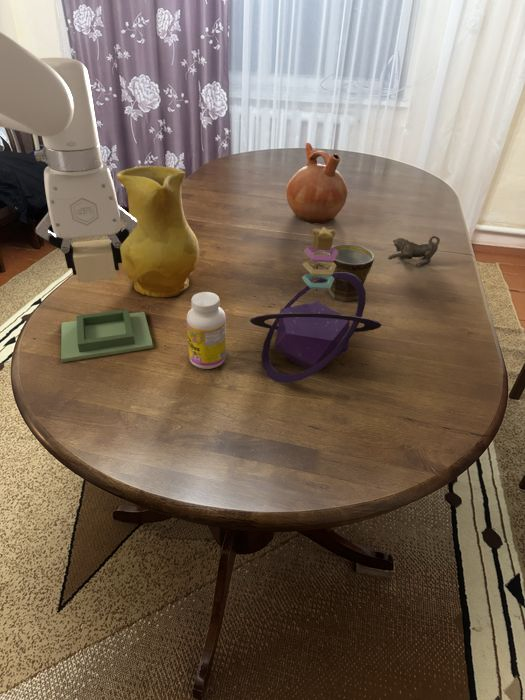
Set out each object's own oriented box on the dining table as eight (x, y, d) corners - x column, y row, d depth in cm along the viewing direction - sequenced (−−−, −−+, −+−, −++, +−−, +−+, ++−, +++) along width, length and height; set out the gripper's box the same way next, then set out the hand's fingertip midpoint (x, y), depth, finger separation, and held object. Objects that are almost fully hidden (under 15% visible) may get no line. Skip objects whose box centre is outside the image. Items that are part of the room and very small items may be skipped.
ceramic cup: (354, 281, 111) (361, 242, 105) (374, 302, 104) (383, 261, 98) (303, 287, 108) (308, 247, 102) (321, 310, 100) (326, 268, 94)
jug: (273, 210, 147) (277, 142, 135) (321, 203, 154) (328, 138, 142) (304, 231, 134) (312, 159, 122) (354, 222, 142) (366, 153, 129)
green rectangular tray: (62, 362, 83) (58, 350, 81) (62, 326, 92) (59, 314, 90) (153, 348, 87) (151, 336, 86) (144, 314, 96) (143, 303, 95)
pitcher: (112, 300, 99) (98, 179, 85) (135, 265, 115) (126, 157, 101) (193, 306, 100) (191, 187, 86) (204, 270, 115) (205, 164, 101)
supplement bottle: (184, 352, 86) (180, 292, 79) (218, 345, 89) (216, 285, 81) (196, 374, 82) (192, 312, 74) (231, 365, 84) (231, 304, 76)
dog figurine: (431, 259, 123) (438, 232, 119) (434, 269, 119) (442, 241, 114) (385, 254, 124) (391, 227, 120) (386, 264, 120) (393, 236, 115)
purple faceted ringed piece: (359, 328, 95) (382, 209, 80) (379, 399, 78) (415, 264, 63) (249, 325, 95) (252, 204, 80) (247, 395, 78) (250, 258, 63)
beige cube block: (78, 282, 76) (73, 257, 73) (78, 266, 81) (72, 242, 78) (116, 278, 78) (112, 253, 75) (113, 262, 82) (109, 238, 80)
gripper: (7, 168, 63) (40, 285, 74) (138, 162, 68) (150, 273, 78) (12, 153, 68) (42, 264, 79) (132, 149, 73) (145, 254, 84)
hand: (96, 268), depth 79 cm, fingers closed on beige cube block, 6 cm apart
